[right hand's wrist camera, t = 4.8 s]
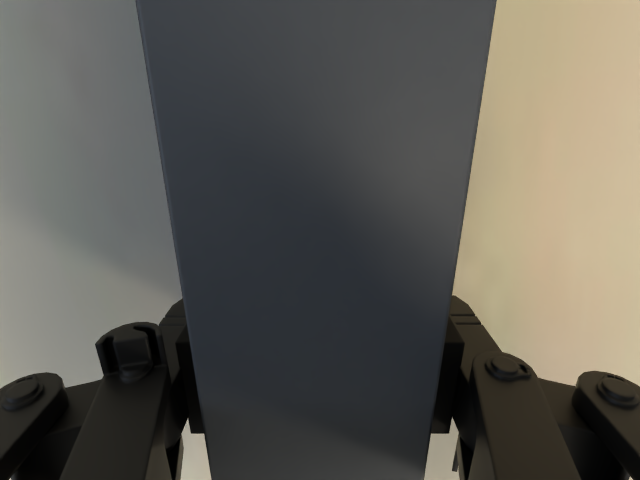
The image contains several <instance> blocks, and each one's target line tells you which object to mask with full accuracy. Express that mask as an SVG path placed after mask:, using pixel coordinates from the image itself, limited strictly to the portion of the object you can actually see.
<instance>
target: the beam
mask: <svg viewBox="0 0 640 480" xmlns="http://www.w3.org/2000/svg"><path fill="white" fill-rule="evenodd" d="M496 1H497V0H136V6H137V12H138V18H139V25H140V31H141V37H142V44H143V50H144V56H145V63H146V69H147V75H148V81H149V88H150V94H151V100H152V107H153V113H154V119H155V126H156V132H157V138H158V145H159V151H160V157H161V163H162V170H163V176H164V182H165V189H166V195H167V201H168V208H169V214H170V220H171V227H172V233H173V239H174V245H175V252H176V258H177V264H178V271H179V277H180V283H181V290H182V296H183V302H184V309H185V315H186V321H187V327H188V334H189V340H190V346H191V353H192V359H193V365H194V372H195V378H196V384H197V391H198V397H199V403H200V409H201V416H202V422H203V428H204V435H205V441H206V447H207V454H208V460H209V466H210V473H211V479H212V480H424V475H425V468H426V462H427V455H428V449H429V442H430V435H431V429H432V422H433V416H434V409H435V402H436V396H437V389H438V383H439V376H440V370H441V363H442V356H443V350H444V343H445V337H446V330H447V323H448V317H449V310H450V304H451V297H452V290H453V284H454V277H455V271H456V264H457V258H458V251H459V244H460V238H461V231H462V225H463V218H464V211H465V205H466V198H467V192H468V185H469V178H470V172H471V165H472V159H473V152H474V146H475V139H476V132H477V126H478V119H479V113H480V106H481V99H482V93H483V86H484V80H485V73H486V66H487V60H488V53H489V47H490V40H491V34H492V27H493V20H494V14H495V7H496Z"/></svg>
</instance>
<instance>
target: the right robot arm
mask: <svg viewBox="0 0 640 480" xmlns="http://www.w3.org/2000/svg"><path fill="white" fill-rule="evenodd" d="M95 345H96V349H97V353H98V356H99V360H100V364H101V367H102V371H103V374H104V376H103V378H102V379H101V380H98V381H94V382H90V383H86V384H81V385H76V386H72V387H67V388H65V386H64V383H63V380H62V378H61V377H59V376H58V375H57V374H54V373H47V372H46V373H38V374H32V375H29V376H26V377H22V378H20V379H17V380H15V381H13V382H11V383H9V384H8V385H6V386H4V387H2V388H1V389H0V480H9V479H10V478H11V480H180V478H181V469H182V459H183V450H184V447H183V440H182V435H181V433H182V431H183V428H184V426H185V424H186V421H187V419H189V425H190V431H191V433H204V428H203V422H202V416H201V409H200V403H199V397H198V391H197V384H196V378H195V372H194V365H193V359H192V353H191V346H190V340H189V334H188V327H187V321H186V315H185V309H184V302H183V299H181V300H180V301H178V302H177V303H175V304H174V305H172V307H171V308H170V310H169V311H168V312H167V314H166V315H165V318H163V319H162V321H161V322H160V324H159V326H158V325H156V324H153V323H149V322H135V323H131V324H126V325H122V326H120V327H118V328H115V329H113V330H111V331H109V332H108V333H106V334H105V335H103V336H102V337H101V338H100V339H99V340H98V341H97V343H96V344H95ZM452 417H453V419H454V422H455V424H456V427H457V429H458V431H459V435H458V440H457V445H456V451H455V456H454V461H453V468H452V471H455V472H457V469H458V468H459V477H460V480H629V477H630V476H631V477H632V479H633V480H640V387H639V386H638V385H636V384H634V383H632V382H630V381H628V380H626V379H625V378H623V377H620V376H617V375H614V374H610V373H607V372H599V371H590V372H584V373H583V374H582V375H580V376H579V377H578V380H577V383H576V386H571V385H566V384H562V383H557V382H552V381H548V380H544V379H541V378H538V377H537V375H536V374H535V372H534V371H533V369H532V368H531V367H530V366H529V365H528V364H526V363H525V362H524V361H523V360H521V359H519V358H517V357H515V356H513V355H511V354H507V353H504V352H502V351H501V350H500V348H499V347H498V346H497V344H496V343H495V341H494V340H493V339H492V337H491V336H490V335H489V333H488V332H487V330H486V329H485V328H484V326H483V325H481V322H480V321H479V319H478V318H477V316H475V314H474V312H473V311H472V310H471V308H470V307H469V305H468V304H467V303H465V302H464V301H462V300H461V299H459V298H458V297H456V296H452V297H451V304H450V310H449V317H448V323H447V330H446V337H445V343H444V350H443V356H442V363H441V370H440V376H439V383H438V389H437V396H436V402H435V409H434V416H433V422H432V429H431V433H449V431H450V425H451V419H452Z"/></svg>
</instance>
